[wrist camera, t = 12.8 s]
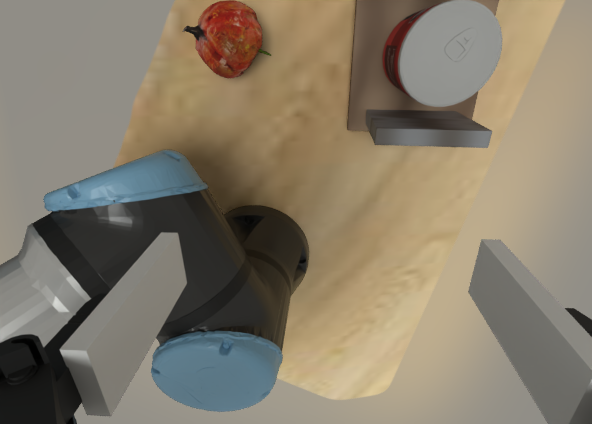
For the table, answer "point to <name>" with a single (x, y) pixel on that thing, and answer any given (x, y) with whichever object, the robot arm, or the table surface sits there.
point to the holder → (392, 101)
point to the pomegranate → (228, 37)
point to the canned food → (443, 52)
